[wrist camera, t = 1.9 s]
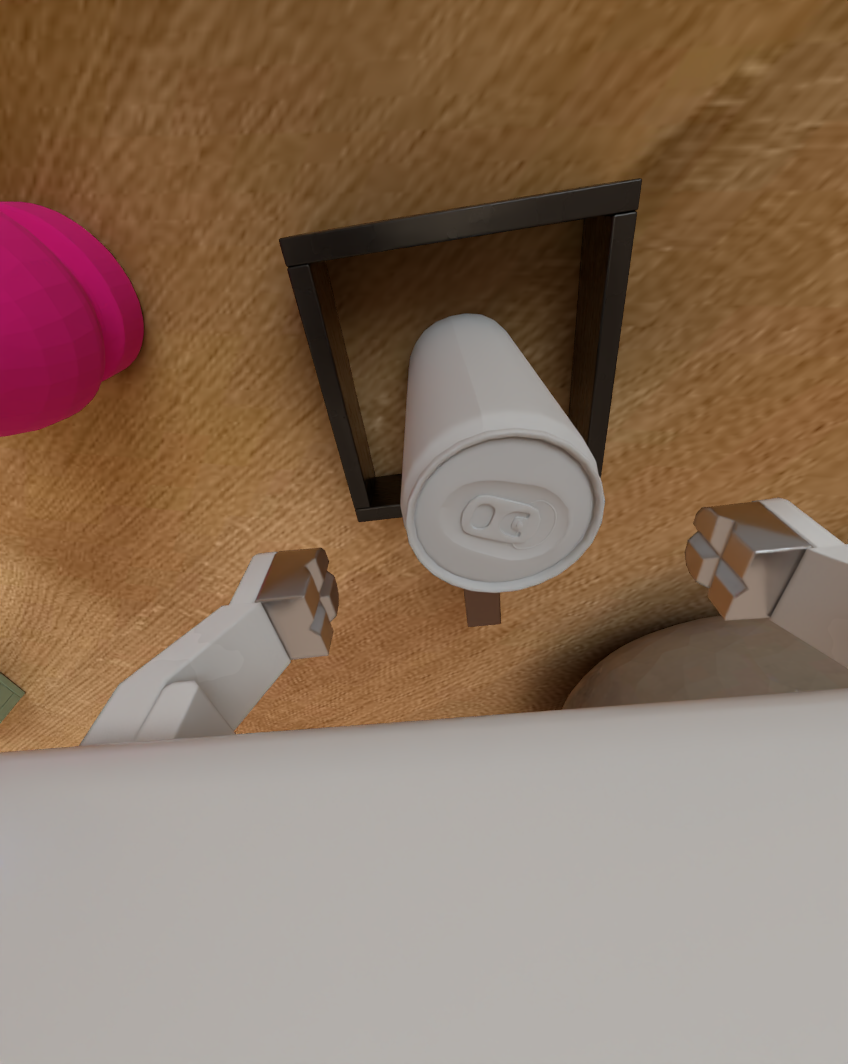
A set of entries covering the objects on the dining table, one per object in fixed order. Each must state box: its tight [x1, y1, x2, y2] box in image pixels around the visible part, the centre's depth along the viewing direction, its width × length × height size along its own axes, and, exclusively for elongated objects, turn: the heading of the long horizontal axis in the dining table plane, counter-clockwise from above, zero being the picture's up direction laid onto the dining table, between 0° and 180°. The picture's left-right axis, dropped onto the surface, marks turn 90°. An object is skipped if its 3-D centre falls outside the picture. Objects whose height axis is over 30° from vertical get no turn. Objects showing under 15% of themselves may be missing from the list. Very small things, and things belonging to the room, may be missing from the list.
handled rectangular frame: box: [279, 178, 642, 627], centre depth 21 cm, size 20×12×3 cm, turn 8°
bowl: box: [562, 616, 848, 710], centre depth 30 cm, size 28×28×10 cm
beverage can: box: [400, 313, 605, 593], centre depth 15 cm, size 5×5×12 cm
